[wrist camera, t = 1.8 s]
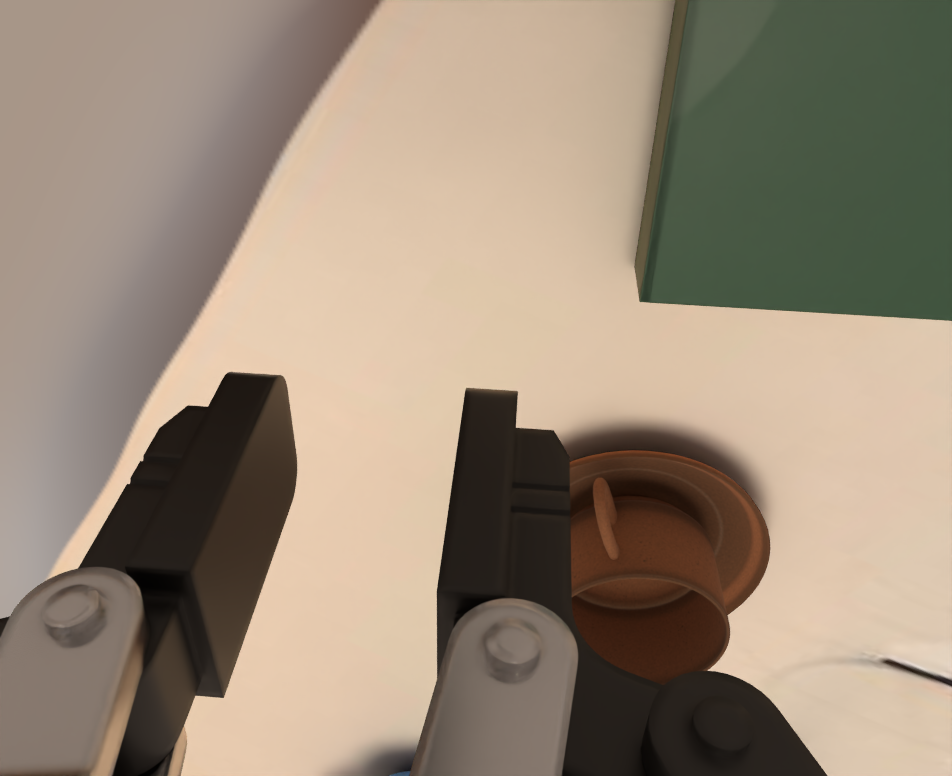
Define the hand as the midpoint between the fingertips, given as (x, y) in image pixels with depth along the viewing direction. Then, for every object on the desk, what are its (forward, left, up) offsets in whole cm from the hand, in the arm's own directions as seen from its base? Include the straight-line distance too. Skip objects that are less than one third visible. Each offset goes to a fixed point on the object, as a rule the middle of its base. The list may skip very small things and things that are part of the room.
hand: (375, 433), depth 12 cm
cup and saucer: (+21, +8, -19) cm, 29 cm away
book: (0, +12, -19) cm, 22 cm away
